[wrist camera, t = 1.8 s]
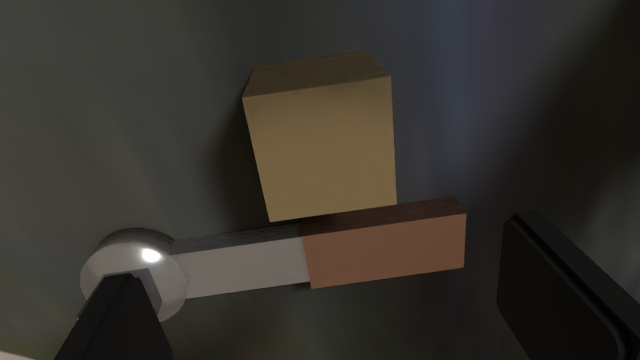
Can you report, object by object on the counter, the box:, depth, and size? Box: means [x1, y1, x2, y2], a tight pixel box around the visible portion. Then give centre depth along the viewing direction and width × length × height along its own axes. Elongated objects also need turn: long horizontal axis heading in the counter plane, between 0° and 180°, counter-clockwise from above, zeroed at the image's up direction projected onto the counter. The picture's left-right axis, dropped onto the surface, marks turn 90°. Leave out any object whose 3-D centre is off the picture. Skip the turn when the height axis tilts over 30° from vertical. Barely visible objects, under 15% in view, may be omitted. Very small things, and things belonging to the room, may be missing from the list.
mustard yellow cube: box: [242, 51, 397, 222], centre depth 20 cm, size 6×6×6 cm
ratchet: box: [76, 197, 466, 322], centre depth 24 cm, size 24×6×6 cm, turn 97°
